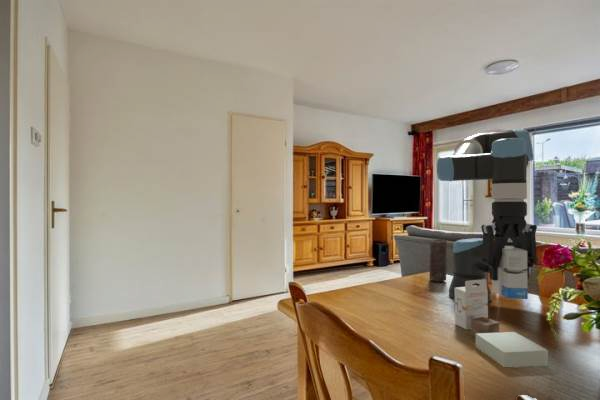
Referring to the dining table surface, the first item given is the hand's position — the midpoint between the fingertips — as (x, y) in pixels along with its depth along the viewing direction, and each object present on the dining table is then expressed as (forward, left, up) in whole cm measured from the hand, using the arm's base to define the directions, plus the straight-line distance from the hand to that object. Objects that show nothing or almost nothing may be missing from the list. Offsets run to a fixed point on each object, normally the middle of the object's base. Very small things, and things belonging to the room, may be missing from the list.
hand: (509, 292), depth 83 cm
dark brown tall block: (-22, -72, -16) cm, 77 cm away
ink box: (0, 0, -1) cm, 1 cm away
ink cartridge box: (-3, -20, -16) cm, 26 cm away
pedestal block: (0, 0, -16) cm, 16 cm away
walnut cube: (-1, -11, -16) cm, 19 cm away
